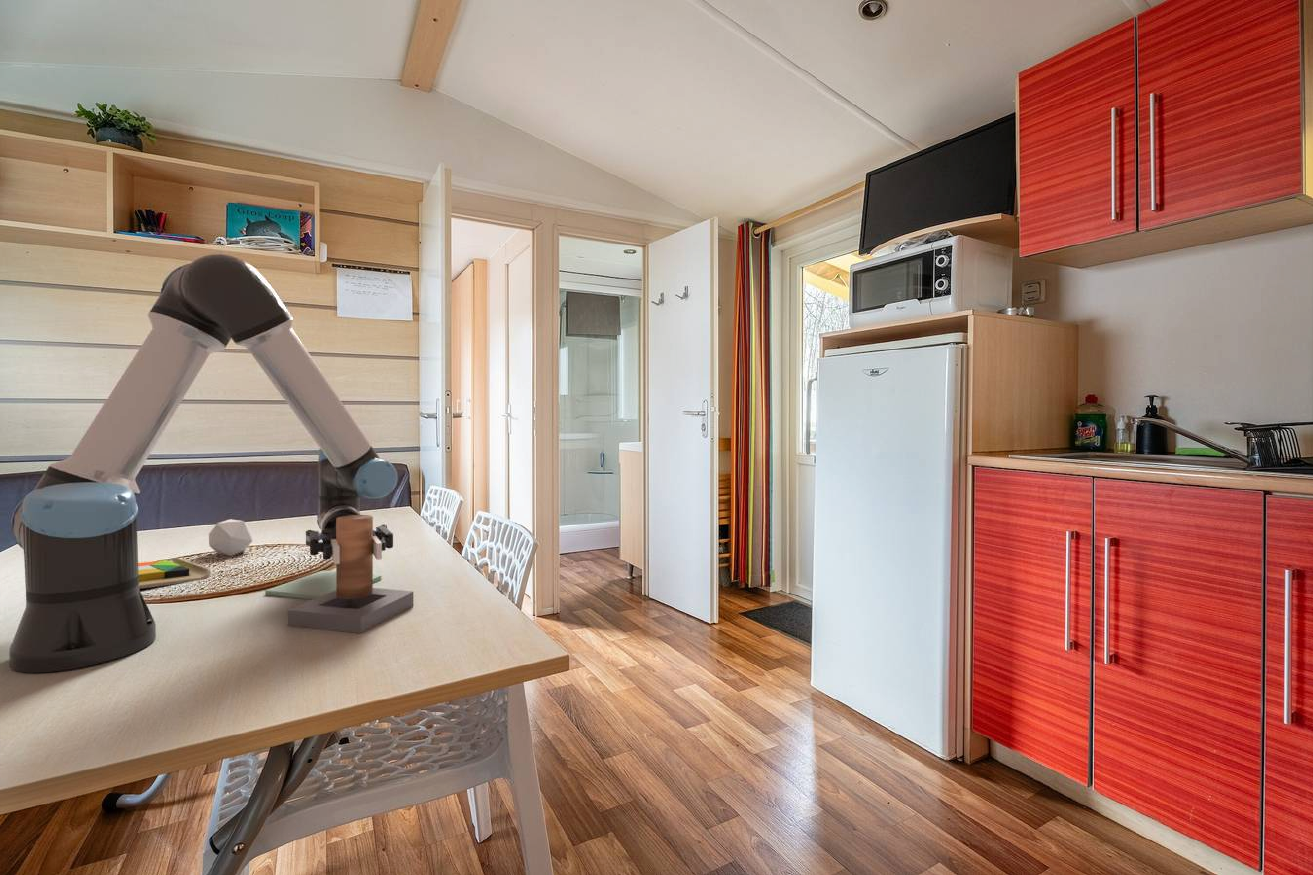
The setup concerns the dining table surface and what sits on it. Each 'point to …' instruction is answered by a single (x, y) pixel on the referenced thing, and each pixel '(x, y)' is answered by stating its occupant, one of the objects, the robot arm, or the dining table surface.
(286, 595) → the board
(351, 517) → the brown wooden cylinder
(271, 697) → the dining table surface
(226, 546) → the die
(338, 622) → the pocket plate
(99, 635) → the robot arm
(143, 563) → the wooden puzzle
